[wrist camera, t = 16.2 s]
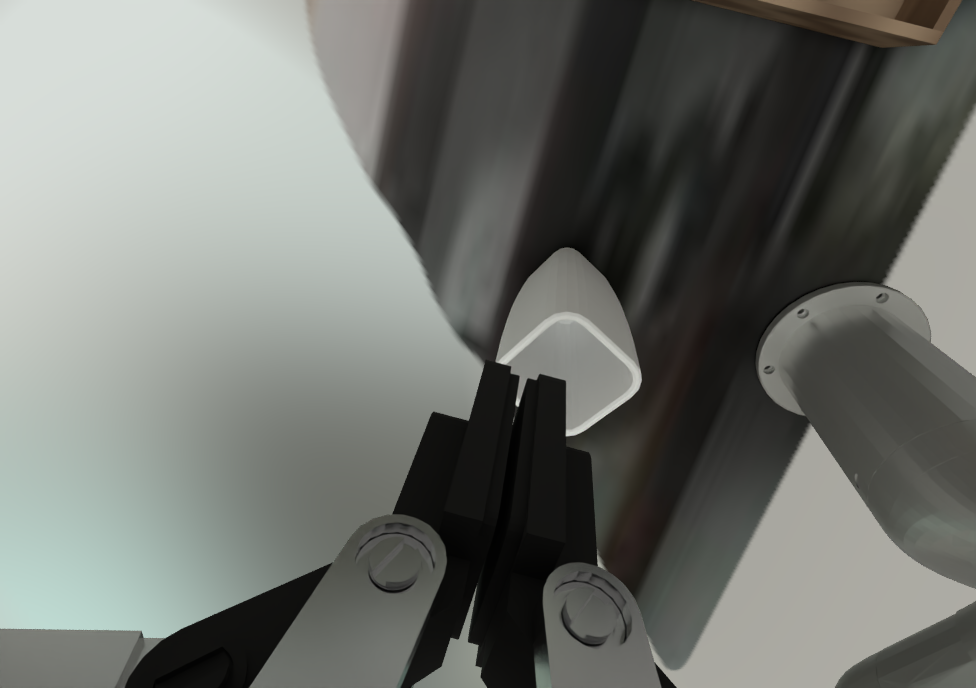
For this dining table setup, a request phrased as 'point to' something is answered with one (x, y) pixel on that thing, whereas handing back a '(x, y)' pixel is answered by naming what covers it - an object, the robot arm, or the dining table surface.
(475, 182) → the dining table surface
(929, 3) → the rack
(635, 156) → the dining table surface
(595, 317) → the cup
